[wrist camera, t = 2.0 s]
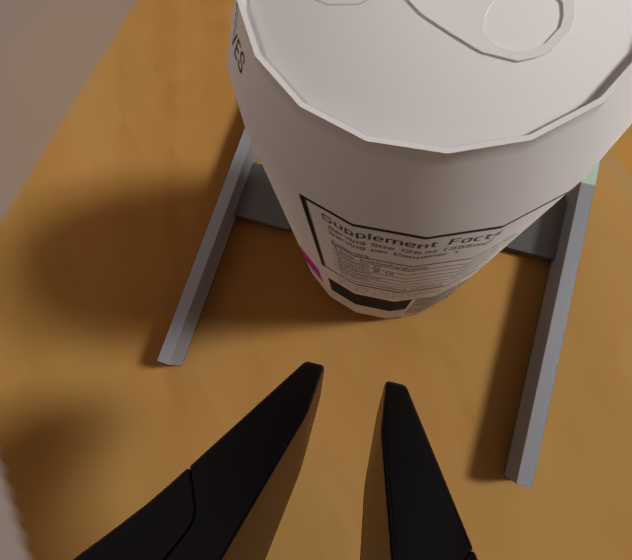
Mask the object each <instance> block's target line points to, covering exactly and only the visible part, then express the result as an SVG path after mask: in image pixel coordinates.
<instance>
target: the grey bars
mask: <svg viewBox="0 0 632 560" xmlns="http://www.w3.org/2000/svg"><path fill="white" fill-rule="evenodd" d="M257 158H258V154H257V152H256V150H255V148H254V145H253V143H252V141H251V139H250V137H249V134H248V132H247V130H246V128H245V129H244V131H243V134H242V137H241V139H240V142H239V145H238V147H237V150H236V153H235V155H234V158H233V161H232V163H231V166H230V169H229V171H228V174H227V177H226V179H225V182H224V184H223V187H222V190H221V192H220V195H219V198H218V200H217V203H216V206H215V208H214V211H213V214H212V216H211V219H210V222H209V224H208V227H207V230H206V232H205V235H204V238H203V240H202V243H201V245H200V248H199V251H198V253H197V256H196V259H195V261H194V264H193V267H192V269H191V272H190V275H189V277H188V280H187V283H186V285H185V288H184V291H183V293H182V296H181V299H180V301H179V304H178V307H177V309H176V312H175V314H174V317H173V320H172V322H171V325H170V328H169V330H168V333H167V336H166V338H165V341H164V344H163V346H162V349H161V352H160V354H159V357H158V360H157V361H159V362H162V363H165V364H168V365H180V366H182V363H183V361H184V358H185V355H186V352H187V350H188V347H189V344H190V342H191V339H192V336H193V333H194V331H195V328H196V325H197V322H198V320H199V317H200V314H201V311H202V309H203V306H204V303H205V301H206V298H207V295H208V292H209V290H210V287H211V284H212V281H213V279H214V276H215V273H216V270H217V268H218V265H219V262H220V260H221V257H222V254H223V251H224V249H225V246H226V243H227V240H228V238H229V235H230V232H231V229H232V227H233V224H234V221H235V219H236V217H238V218H241V219H245V220H249V221H252V222H256V223H259V224H263V225H267V226H270V227H274V228H278V229H281V230H285V231H288V232H290V230H291V227H290V225H289V222H288V220H287V218H286V216H285V214H284V211H283V209H282V207H281V205H280V203H279V200H278V198H277V196H276V194H275V192H274V189H273V187H272V185H271V183H270V181H269V178H268V176H267V174H266V172H265V170H264V167H263V165H261V164H257V163H256V161H257ZM599 164H600V161H599V162H598V163H597V164H596V165H595V166H594V167H593V169H592V170H591V171H590V172H589V173H588V174H587V175H586V177H585V178H584V179H583V180H582V181H580V182H579V183H578V184H577V185H576V186H575V187H573V188H572V189H571V190H570V191H569V192H568V193H567V194H566V198H565V201H563V200H559V201H557V202H556V203H555V204H554V205H553V206H552V207H551V208H549V209H548V210H547V211H546V212H545V213H544V214H542V215H541V216H540V217H539V218H538V219H537V220H536V221H534V222H533V223H532V224H531V225H530V226H529V227H528V228H526V229H525V230H524V231H523V232H522V233H521V234H520V235H518V236H517V237H516V238H515V239H514V240H513V241H511V242H510V243H509V244H508V245H507V246H506V247H505V248H503V249H504V250H508V251H512V252H516V253H520V254H523V255H527V256H531V257H535V258H539V259H543V260H546V261H550V262H551V266H550V270H549V275H548V279H547V284H546V288H545V293H544V297H543V302H542V307H541V311H540V316H539V320H538V325H537V329H536V334H535V338H534V343H533V347H532V352H531V356H530V361H529V366H528V370H527V375H526V379H525V384H524V388H523V393H522V397H521V402H520V406H519V411H518V415H517V420H516V425H515V429H514V434H513V438H512V443H511V447H510V452H509V456H508V461H507V465H506V470H505V476H506V477H508V478H509V479H511V480H512V481H514V482H515V483H517V484H520V485H523V486H526V487H528V488H531V489H532V486H533V481H534V476H535V471H536V467H537V462H538V457H539V452H540V447H541V443H542V438H543V433H544V428H545V423H546V419H547V414H548V409H549V404H550V399H551V395H552V390H553V385H554V380H555V375H556V370H557V366H558V361H559V356H560V351H561V346H562V342H563V337H564V332H565V327H566V322H567V318H568V313H569V308H570V303H571V298H572V294H573V289H574V284H575V279H576V274H577V270H578V265H579V260H580V255H581V250H582V246H583V241H584V236H585V231H586V226H587V221H588V217H589V212H590V207H591V202H592V197H593V193H594V188H595V183H596V178H597V173H598V169H599Z"/></svg>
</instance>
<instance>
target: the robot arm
mask: <svg viewBox="0 0 632 560" xmlns="http://www.w3.org/2000/svg"><path fill="white" fill-rule="evenodd" d="M323 374H324V367H323V366H322V365H319V364H315V363H311V362H305V363H303V364H302V365H301V366H300V367H299V368H298V369H297V370H296V371H294V372H293V373H292V374H291V375H290V376H289V377H288V378H287V379H286V380H285V381H283V382H282V383H281V384H280V385H279V386H278V387H277V388H276V389H275V390H273V391H272V392H271V393H270V394H269V395H268V396H267V397H266V398H265V399H264V400H262V401H261V402H260V403H259V404H258V405H257V406H256V407H255V408H254V409H253V410H251V411H250V412H249V413H248V414H247V415H246V416H245V417H244V418H243V419H242V420H240V421H239V422H238V423H237V424H236V425H235V426H234V427H233V428H232V429H231V430H229V431H228V432H227V433H226V434H225V435H224V436H223V437H222V438H221V439H220V440H218V441H217V442H216V443H215V444H214V445H213V446H212V447H211V448H210V449H209V450H207V451H206V452H205V453H204V454H203V455H202V456H201V457H200V458H199V459H198V460H196V461H195V462H194V463H193V464H192V465H191V466H190V469H186V470H185V471H184V472H183V473H182V474H181V475H180V476H179V477H177V478H176V479H175V480H174V481H173V482H172V483H171V484H170V485H169V486H167V487H166V488H165V489H164V490H163V491H162V492H160V493H159V494H158V495H157V496H156V497H155V498H153V499H152V500H151V501H150V502H149V503H148V504H146V505H145V506H144V507H142V508H141V509H140V510H139V511H137V512H136V513H135V514H133V515H132V516H131V517H130V518H128V519H127V520H126V521H124V522H123V523H122V524H120V525H119V526H118V527H116V528H115V529H114V530H112V531H111V532H110V533H108V534H107V535H106V536H104V537H103V538H102V539H100V540H99V541H98V542H96V543H95V544H93V545H92V546H91V547H89V548H88V549H87V550H85V551H84V552H83V553H81V554H80V555H79V556H77V557H76V558H75V559H73V560H265V559H266V556H267V553H268V551H269V548H270V546H271V543H272V541H273V538H274V536H275V533H276V531H277V528H278V526H279V523H280V521H281V518H282V516H283V513H284V511H285V508H286V506H287V503H288V501H289V498H290V496H291V493H292V491H293V488H294V486H295V483H296V481H297V478H298V475H299V472H300V470H301V466H302V463H303V460H304V456H305V452H306V449H307V445H308V441H309V437H310V433H311V430H312V426H313V422H314V418H315V414H316V411H317V407H318V403H319V399H320V394H321V388H322V381H323ZM471 550H472V545H471V543H470V540H469V538H468V536H467V533H466V531H465V528H464V526H463V523H462V521H461V519H460V516H459V514H458V511H457V509H456V506H455V504H454V501H453V499H452V497H451V494H450V492H449V489H448V487H447V484H446V482H445V480H444V477H443V475H442V472H441V470H440V467H439V465H438V463H437V460H436V458H435V455H434V453H433V450H432V448H431V446H430V443H429V441H428V438H427V436H426V433H425V431H424V428H423V426H422V424H421V421H420V419H419V416H418V414H417V411H416V409H415V407H414V404H413V402H412V399H411V397H410V394H409V392H408V390H407V388H406V386H404V385H401V384H397V383H393V382H386V383H385V386H384V389H383V393H382V397H381V400H380V404H379V408H378V412H377V417H376V423H375V428H374V434H373V440H372V445H371V451H370V457H369V462H368V468H367V474H366V480H365V487H364V499H363V518H362V536H361V554H360V560H478V559H477V557H476V554H475V553H474V552H471Z"/></svg>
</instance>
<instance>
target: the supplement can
mask: <svg viewBox="0 0 632 560" xmlns="http://www.w3.org/2000/svg"><path fill="white" fill-rule="evenodd" d="M227 70H228V73H229V76H230V80H231V83H232V86H233V90H234V93H235V96H236V99H237V103H238V106H239V109H240V112H241V116H242V119H243V122H244V126H245V128H246V130H247V132H248V134H249V137H250V139H251V141H252V143H253V145H254V148H255V150H256V152H257V154H258V156H259V159H260V161H261V163H262V165H263V167H264V170H265V172H266V174H267V176H268V178H269V181H270V183H271V185H272V187H273V189H274V192H275V194H276V196H277V198H278V200H279V203H280V205H281V207H282V209H283V211H284V214H285V216H286V218H287V220H288V222H289V225H290V227H291V229H292V231H293V233H294V235H295V238H296V240H297V242H298V244H299V246H300V249H301V251H302V253H303V255H304V257H305V260H306V262H307V264H308V266H309V268H310V271H311V273H312V274H313V276H314V277H315V278H316V279H317V281H318V282H319V283H320V285H321V286H322V287H323V288H324V290H325V291H326V292H327V293H328V295H329V296H330V297H332V298H333V299H335V300H336V301H338V302H340V303H341V304H343V305H345V306H346V307H348V308H349V309H351V310H353V311H354V312H357V313H361V314H366V315H371V316H376V317H380V318H385V319H387V318H395V317H402V316H409V315H416V314H419V313H421V312H423V311H424V310H426V309H428V308H430V307H432V306H434V305H436V304H438V303H440V302H441V301H443V300H445V299H446V298H447V297H448V296H449V295H451V294H452V293H453V292H454V291H455V290H456V289H457V288H459V287H460V286H461V285H462V284H463V283H464V282H466V281H467V280H468V279H469V278H470V277H471V276H472V275H474V274H475V273H476V272H477V271H478V270H479V269H480V268H482V267H483V266H484V265H485V264H486V263H487V262H488V261H490V260H491V259H492V258H493V257H494V256H495V255H497V254H498V253H499V252H500V251H501V250H502V249H503V248H505V247H506V246H507V245H508V244H509V243H510V242H511V241H513V240H514V239H515V238H516V237H517V236H518V235H520V234H521V233H522V232H523V231H524V230H525V229H526V228H528V227H529V226H530V225H531V224H532V223H533V222H534V221H536V220H537V219H538V218H539V217H540V216H541V215H542V214H544V213H545V212H546V211H547V210H548V209H549V208H551V207H552V206H553V205H554V204H555V203H556V202H557V201H559V200H560V199H561V198H562V197H563V196H564V195H565V194H567V193H568V192H569V191H570V190H571V189H572V188H573V187H575V186H576V185H577V184H578V183H579V182H580V181H582V180H583V179H584V178H585V177H586V175H587V174H588V173H589V172H590V171H591V170H592V169H593V167H594V166H595V165H596V164H597V163H598V162H599V161H600V159H601V158H602V157H603V156H604V155H605V154H606V152H607V151H608V150H609V149H610V148H611V147H612V146H613V144H614V143H615V142H616V141H617V140H618V139H619V138H620V136H621V135H622V134H623V133H624V132H625V131H626V129H627V128H628V127H629V126H630V125H631V124H632V0H235V1H234V4H233V9H232V19H231V29H230V38H229V48H228V57H227Z"/></svg>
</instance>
